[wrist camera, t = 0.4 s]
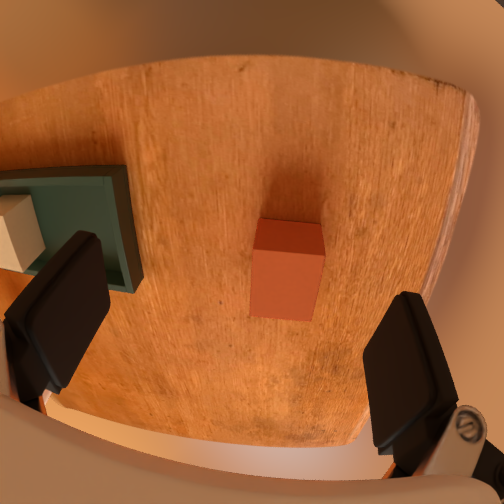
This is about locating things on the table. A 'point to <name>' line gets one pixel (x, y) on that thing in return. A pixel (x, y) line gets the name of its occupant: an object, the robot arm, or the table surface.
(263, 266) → the orange-red block
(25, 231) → the cream white rectangular block
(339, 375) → the table surface
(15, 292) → the table surface
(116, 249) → the tray
